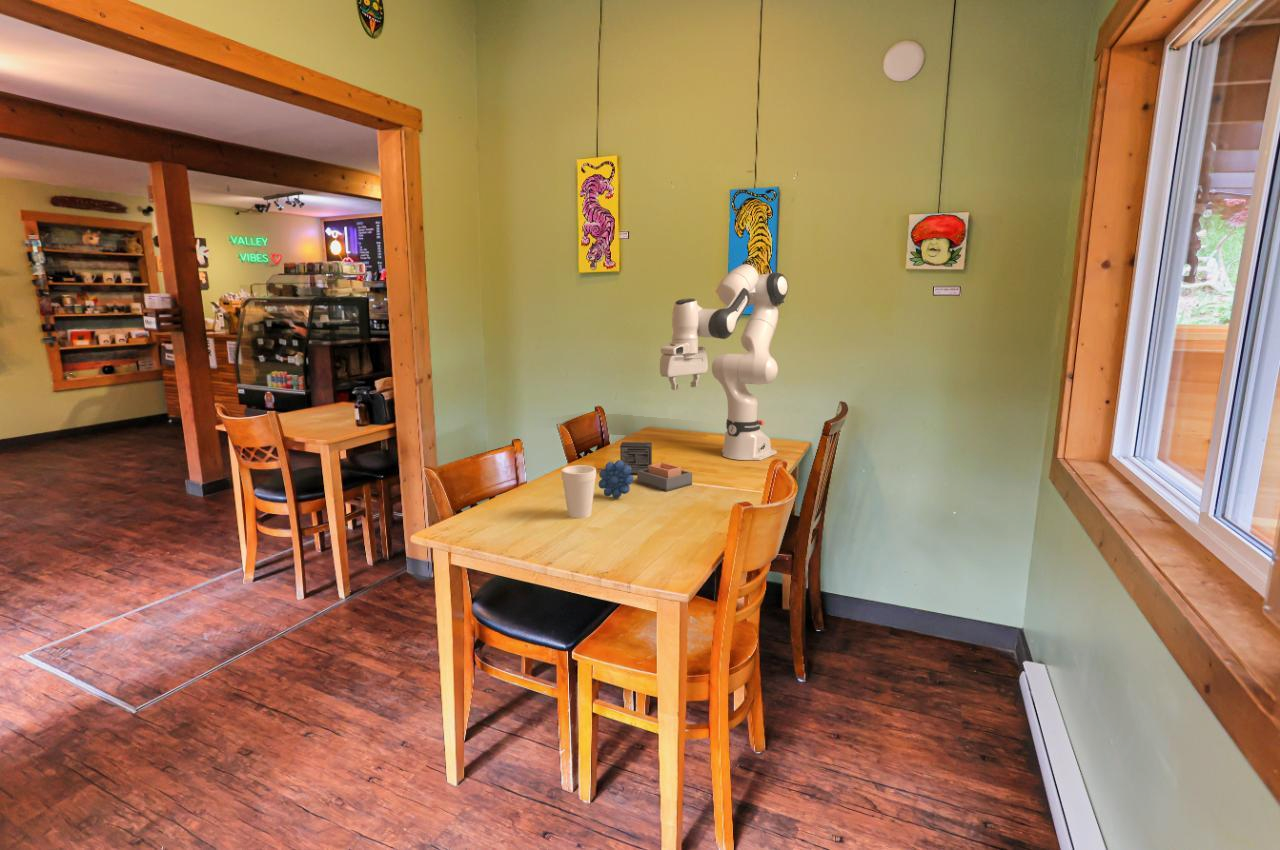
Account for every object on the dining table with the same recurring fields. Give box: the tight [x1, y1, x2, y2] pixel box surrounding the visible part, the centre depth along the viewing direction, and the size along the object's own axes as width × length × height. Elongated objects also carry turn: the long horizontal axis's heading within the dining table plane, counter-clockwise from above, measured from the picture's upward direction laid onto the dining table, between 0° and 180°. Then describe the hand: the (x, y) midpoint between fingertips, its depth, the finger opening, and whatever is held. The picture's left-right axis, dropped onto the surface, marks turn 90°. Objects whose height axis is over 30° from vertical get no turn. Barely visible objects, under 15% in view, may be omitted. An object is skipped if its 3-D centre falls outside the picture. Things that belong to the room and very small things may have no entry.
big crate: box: [636, 468, 693, 493], centre depth 208 cm, size 12×14×4 cm
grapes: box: [598, 459, 635, 499], centre depth 193 cm, size 12×7×12 cm, turn 66°
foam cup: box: [561, 464, 597, 519], centre depth 177 cm, size 10×9×13 cm
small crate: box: [649, 461, 682, 478], centre depth 208 cm, size 6×9×5 cm, turn 42°
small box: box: [619, 441, 653, 476], centre depth 220 cm, size 11×6×10 cm, turn 84°
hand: (684, 388), depth 218 cm, fingers open, 8 cm apart
